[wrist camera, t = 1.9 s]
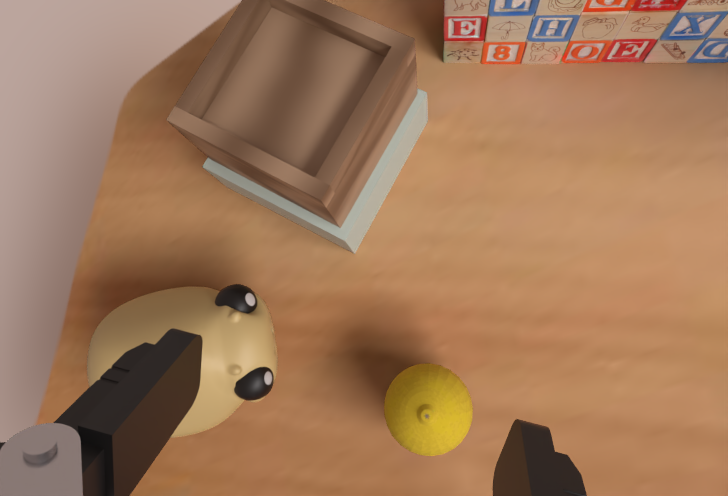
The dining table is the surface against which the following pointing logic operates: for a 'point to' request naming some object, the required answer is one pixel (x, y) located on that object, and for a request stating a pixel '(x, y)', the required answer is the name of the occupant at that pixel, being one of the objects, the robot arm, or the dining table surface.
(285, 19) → the wooden box
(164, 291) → the cream pug plush toy
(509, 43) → the stack of blocks
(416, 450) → the lemon
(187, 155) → the dining table surface
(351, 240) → the tower base
